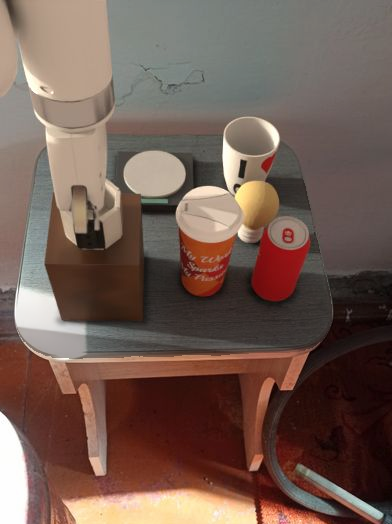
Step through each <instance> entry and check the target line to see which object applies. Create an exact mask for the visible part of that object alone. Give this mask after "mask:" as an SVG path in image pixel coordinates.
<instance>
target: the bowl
mask: <svg viewBox="0 0 392 524" xmlns="http://www.w3.org/2000/svg"><path fill="white" fill-rule="evenodd" d="M87 200H89V199H88V196H87ZM59 210H60V209H59ZM87 211H88V219H93V210H87ZM60 214H61V218H62V223H63V227H64V231H65V235H66V237H67V238H68V239H70V240H71V241H72V242H73V243H74V244H75V245H76V246H77V243H76V238H75V234H74V229H73V218H72V208H71V206H70V208H69V210H68V211H61V210H60ZM99 219H100V222H101V223H103V229H104V236H105V249H107V248H108V247H109V246H111V245H112V244H113V243H115V242H116V241H117V240H119V239H120V238H121V236H122V235H123V212H122V201H121V191H120V190H119V188H118V187H116V184H114V183H113V182H111V180H109V179H108V178H107V179H106V182H105V194H104V204H103V207H102V209H101V210H99ZM83 250H103V249H83Z"/></svg>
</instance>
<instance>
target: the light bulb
mask: <svg viewBox="0 0 392 524" xmlns="http://www.w3.org/2000/svg"><path fill="white" fill-rule="evenodd" d="M234 198H235V199H236V201H237V203H238V204H239V206H240V207H241V209H242V210H243V214H244V222H243V224H242V226H241V227H240V229H239V231H238V232H237V236H238V238H239V239H240V240H241V241H242V242H244V243H247V244H255V243H258V242H259V241H261V238H262V234H263V232H264V230H265V226H268V225H270V223H271V222H272V221H273V220H274V219H276V216H277V214H278V212H279V209H280V200H279V195H278V193H277V191H276V189H275V187H274V186H273V185H272V184H271V183H269V182H266V181H265V182H263V181H250V182H247V183H245V184H243V185H242V186H241V187H240V188H239V189H238V191H237V193H236V195H235V196H234Z"/></svg>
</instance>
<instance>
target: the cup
mask: <svg viewBox="0 0 392 524" xmlns="http://www.w3.org/2000/svg"><path fill="white" fill-rule="evenodd" d="M222 141H223V143H222V165H223V176H224V180H225V183H226V187H227V191H228V192H229V193H230V194H231V195H232V196H233V197H235V195H236V193H237V191H238V189H239V188H240V187H241V186H242V185H243V184H245V183H247V182H250V181H263V182H266V180H267V178H268V175H269V173H270V171H271V169H272V167H273V164H274V161H275V159H276V158H275V157H276V155H277V151H278V148H279V146H280V141H281V137H280V132H279V131H278V129H277V128H276V127H275V126H274V125H273V124H272V123H271V122H269V121H268V120H266V119H263V118H260V117H256V116H242V117H238V118H235V119H233V120H231V121H230V122H229V123H228V124H227V125H226V126H225V128H224V130H223V140H222Z"/></svg>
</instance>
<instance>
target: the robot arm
mask: <svg viewBox="0 0 392 524" xmlns="http://www.w3.org/2000/svg"><path fill="white" fill-rule="evenodd" d="M107 4H108V3H107V0H0V100H2V98H4V96H5V95H7V93H8V92H9V91H10V89H12V87H13V84H14V83H15V80H16V76H17V74H18V67H19V53H20V57H21V58H20V59H21V62H22V67H23V70H24V75H25V78H26V82H27V86H28V91H29V95H30V99H31V103H32V108H33V112H34V115H35V117H36V118H37V119H38V121H39V122H40V123H42V125H44V127H45V141H46V151H47V158H48V163H49V170H50V175H51V182H52V187H53V192H54V193H55V199H56V204H57V207H58V208H59V209H60V210H61V211H68V210H69V208H70V206H71V208H72V218H73V229H74V234H75V238H76V243H77V247H78V248H80V249H104V248H105V236H104V229H103V223H101V222H100V219H99V210H101V209H102V207H103V204H104V194H105V182H106V179H108V177H107V169H108V168H107V167H108V135H107V124H106V123H107V122H108V121H109V120H110V119H111V117H112V116H113V115H114V112H115V109H116V98H115V97H116V96H115V85H114V75H113V64H112V52H111V40H110V29H109V19H108V18H109V17H108V6H107ZM17 45H18V47H17ZM18 50H19V53H18ZM87 196H88V199H89V200H87ZM87 210H93V219H88V211H87Z"/></svg>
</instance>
